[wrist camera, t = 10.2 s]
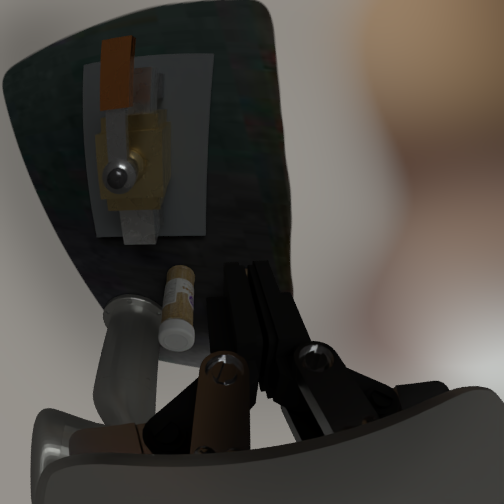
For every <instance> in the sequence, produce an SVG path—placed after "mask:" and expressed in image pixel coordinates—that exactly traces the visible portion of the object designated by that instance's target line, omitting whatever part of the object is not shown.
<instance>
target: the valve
mask: <svg viewBox="0 0 504 504" xmlns="http://www.w3.org/2000/svg"><path fill="white" fill-rule="evenodd" d="M164 79H165V74H164V73H159V69H157V68H154V67H142V68H134V76H133V106H132V107H128V140H129V158H130V159H131V160H133V161H134V163H135V164H136V166H137V168H138V178H137V181H136V183H135V184H134V185H133V187H132V188H131V189H130V190H129V191H128V192H126V193H123V194H115V193H112V192H110V191H109V190H108V189H107V188H106V187H105V186H104V184H103V181H102V173H103V170H104V168H105V166H106V165H107V164H108V152H107V137H106V117H103V118H101V132H100V133H98V134H96V135H95V144H96V159H97V170H98V180H99V188H100V196H101V200H102V199H107V205H108V211H119V212H120V220H121V227H122V234H123V240H124V245H134V244H156V242H157V238H158V235H159V231H160V225H164V222H165V209H164V197H165V194H166V191H167V186H168V183H169V181H170V178H171V122H166V120H167V109H160V110H157V98H164Z"/></svg>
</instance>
